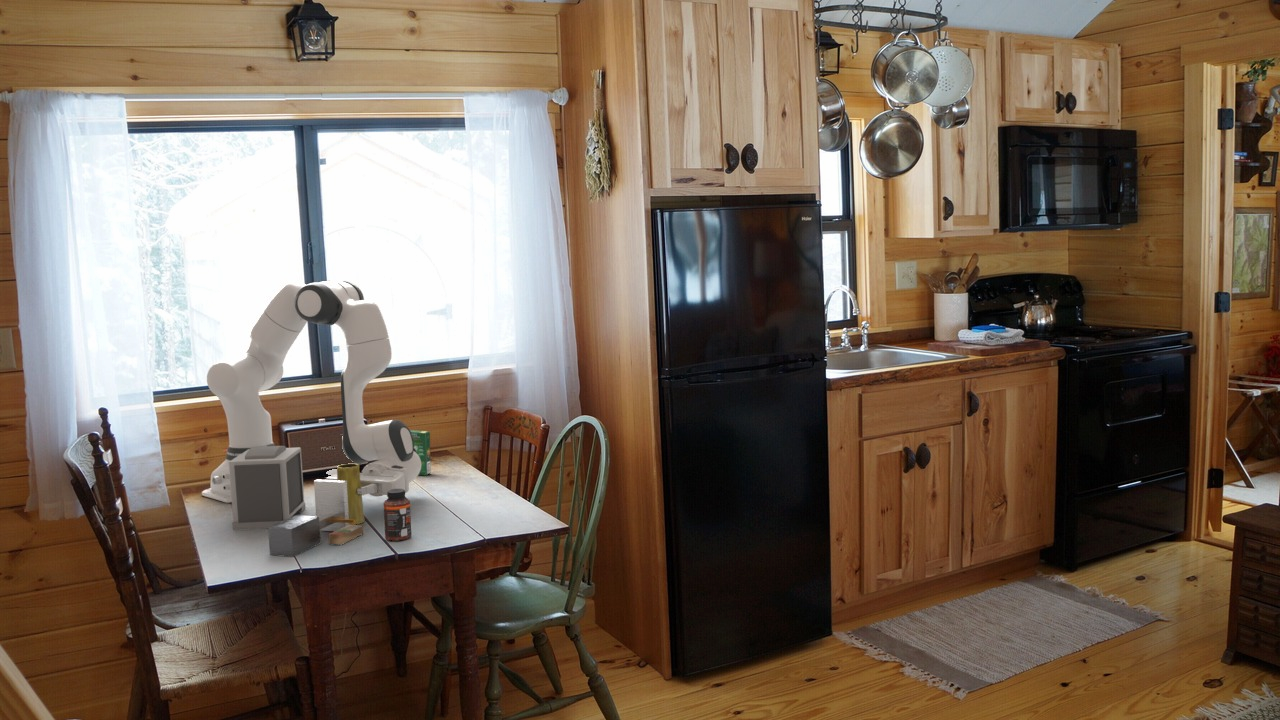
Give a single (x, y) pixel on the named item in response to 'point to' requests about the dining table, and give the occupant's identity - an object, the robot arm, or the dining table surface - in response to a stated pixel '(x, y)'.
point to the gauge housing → (294, 535)
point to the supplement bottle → (397, 515)
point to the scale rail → (345, 534)
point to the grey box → (266, 486)
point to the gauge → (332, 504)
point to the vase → (352, 490)
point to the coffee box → (422, 450)
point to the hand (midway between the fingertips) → (347, 491)
